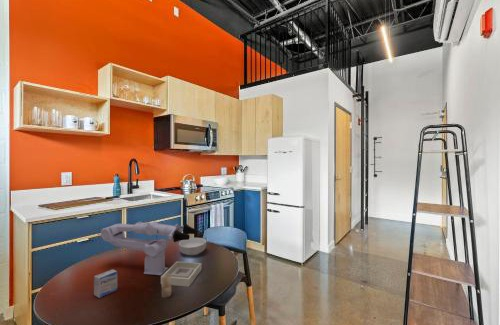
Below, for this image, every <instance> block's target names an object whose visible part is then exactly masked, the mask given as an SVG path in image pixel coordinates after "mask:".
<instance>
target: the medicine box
mask: <svg viewBox="0 0 500 325" xmlns="http://www.w3.org/2000/svg"><path fill="white" fill-rule="evenodd" d="M117 290H118V271H117V270H115V269H110V270H107V271H104V272H102V273H99V274H96V275H93V295H94V296H95V297H97V298H99V299H101V298H103V296H104V297H105V295H106V296H108V295H109V294H112V293H114V292H116V291H117Z"/></svg>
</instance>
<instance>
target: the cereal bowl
mask: <svg viewBox="0 0 500 325" xmlns="http://www.w3.org/2000/svg"><path fill="white" fill-rule="evenodd" d="M178 242H179V243H178V249H179V251H180V253H182V254H183V255H186V256H193V257H194V256H197V255H199V254H200V253H203V252H204V251H205V249H206V248H207V240H206V239H205V238H202V237H189V240H181V241H178Z"/></svg>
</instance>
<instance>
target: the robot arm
mask: <svg viewBox="0 0 500 325" xmlns="http://www.w3.org/2000/svg"><path fill="white" fill-rule="evenodd" d="M125 232H133V233H134V234H136V235H140V234H141V235H147V236H148V237H152V236H153V235H154V236H155V235H156V236H161V237H168V238H167V239H168V240H171V241H172V240H173V243H176V242H180V241H182V240H189V238H191V237H190V236H191V235H196V234H197V229H196V228H194V227H191V226H190V225H189V224H187V223H184V224H183V225H179V223H176V224H175V225H172V224H171V225H170V224H165V223H164V224H163V223H159V222H157V221H153V222H150V221H147V222H142V221H138V222H136V223H134V224H132V223H131V224H130V223H129V224H128V223H115V224H112V225H110V226H107V227H104V228H102V229H101V230H100V236H101V238H102V240H103V242H108V243H110V244H112V245H113V246H114V247H117V248H121V249H126V250H136V251H139V252H141V251H142V252H144V254H145V258H144V272H143V274H144V275H152V276H153V275H154V276H155V275H156V276H162V275H163V274H164V273H165V272H166V271H167V270H168V269H169V267H167V266H165V264H166V263H165V262H166V261H165V260H166V254H165V253H166V250H167V249H168V242H167V240H165V239H164V238H159V239H153V240H145V239H138V238H133V237H125V236H126V235H125Z"/></svg>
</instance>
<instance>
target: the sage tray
mask: <svg viewBox="0 0 500 325" xmlns="http://www.w3.org/2000/svg"><path fill="white" fill-rule="evenodd" d="M201 271H202V262H201V263H200V262H189V261H175V262H174V263H173V264H172V265H171V266H170V267H168V269H167V270H166V271H165V272H164V273H163V274H162V275H160V285H162V276H164V275H171V286H176V287H177V286H178V287H188V288H190V287H191V285H192V284H193V282H194V281H195V279H196V278H197V277H198V275H199V274H200V273H201Z"/></svg>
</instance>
